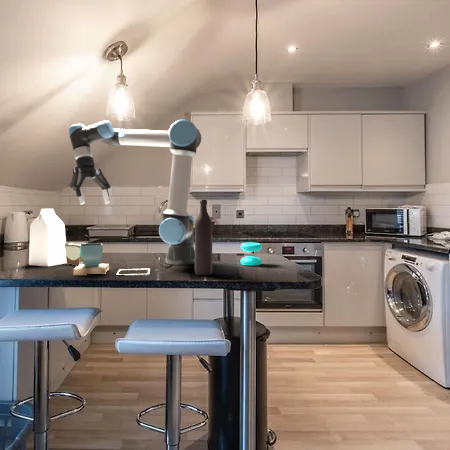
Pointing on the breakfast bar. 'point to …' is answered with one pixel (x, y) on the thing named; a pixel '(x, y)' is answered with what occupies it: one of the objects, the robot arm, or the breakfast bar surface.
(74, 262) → the food container
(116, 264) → the breakfast bar surface
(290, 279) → the breakfast bar surface
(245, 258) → the pair of cyan ovals
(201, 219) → the wine bottle
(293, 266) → the breakfast bar surface
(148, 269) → the seat outline
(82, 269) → the bread slice
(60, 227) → the milk
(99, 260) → the flower pot
